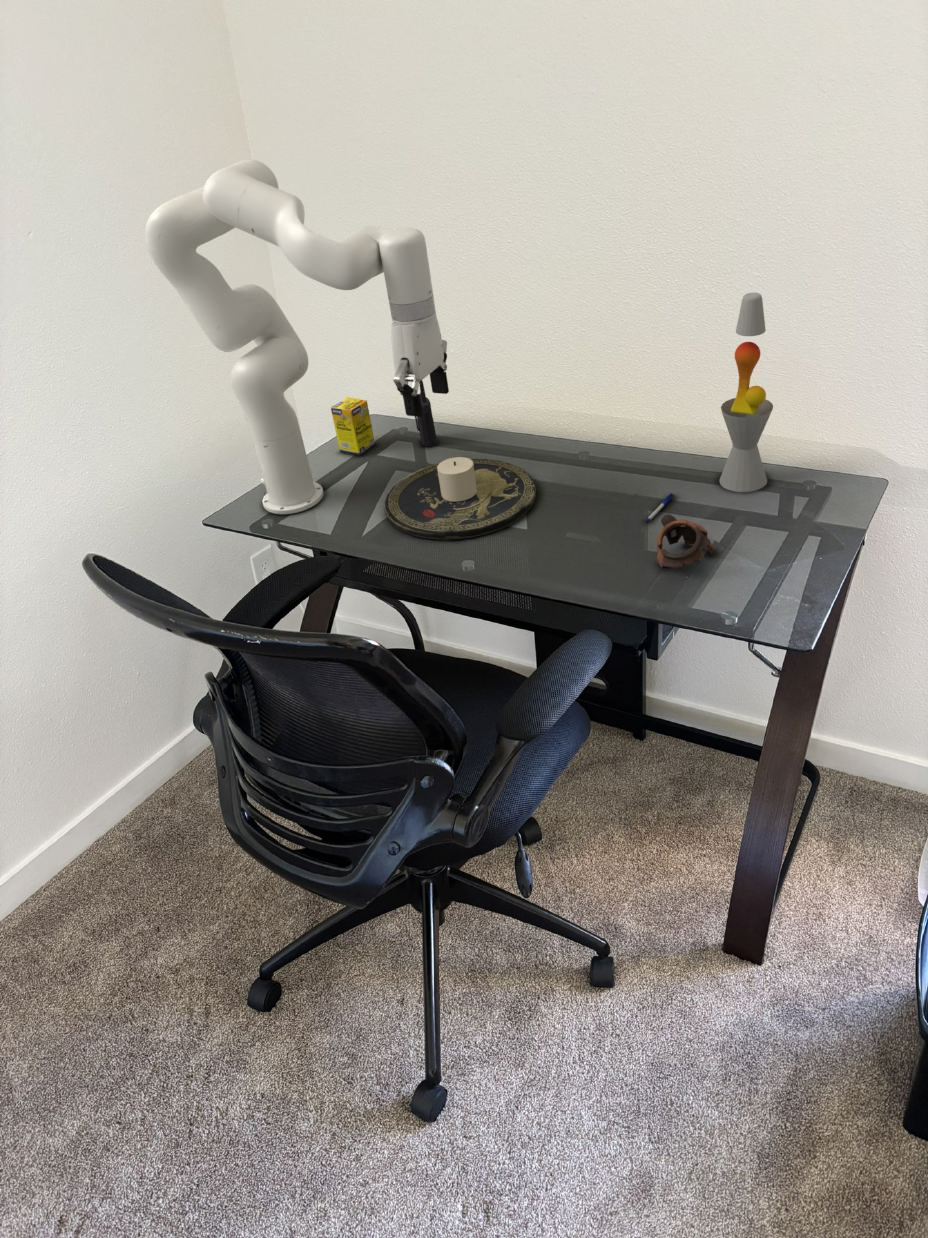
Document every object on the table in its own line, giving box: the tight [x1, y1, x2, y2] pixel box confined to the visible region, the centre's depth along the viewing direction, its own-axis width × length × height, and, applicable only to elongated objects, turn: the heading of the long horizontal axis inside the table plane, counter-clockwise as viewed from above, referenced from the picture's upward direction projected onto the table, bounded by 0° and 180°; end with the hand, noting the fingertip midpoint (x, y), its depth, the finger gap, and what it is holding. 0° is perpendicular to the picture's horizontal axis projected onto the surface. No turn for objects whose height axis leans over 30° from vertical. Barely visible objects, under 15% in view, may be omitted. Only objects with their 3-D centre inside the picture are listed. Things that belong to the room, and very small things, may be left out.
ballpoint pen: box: [645, 492, 674, 523], centre depth 172 cm, size 10×1×1 cm, turn 146°
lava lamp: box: [719, 292, 774, 493], centre depth 167 cm, size 9×9×35 cm
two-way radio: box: [414, 380, 438, 447], centre depth 204 cm, size 6×4×15 cm
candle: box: [437, 456, 477, 502], centre depth 182 cm, size 7×7×7 cm
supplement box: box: [330, 396, 376, 457], centre depth 208 cm, size 6×6×11 cm
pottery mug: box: [656, 513, 714, 569], centre depth 158 cm, size 12×10×8 cm
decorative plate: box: [384, 458, 537, 541], centre depth 185 cm, size 30×2×30 cm
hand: (428, 403), depth 168 cm, fingers open, 9 cm apart
